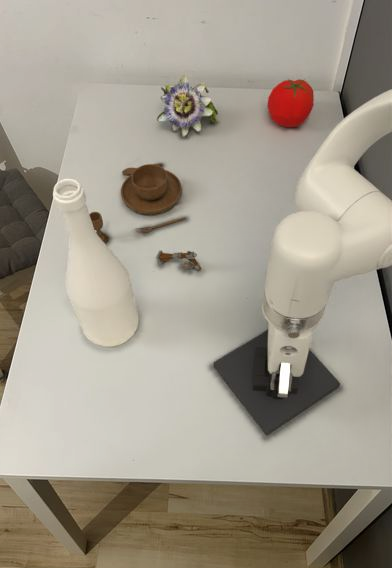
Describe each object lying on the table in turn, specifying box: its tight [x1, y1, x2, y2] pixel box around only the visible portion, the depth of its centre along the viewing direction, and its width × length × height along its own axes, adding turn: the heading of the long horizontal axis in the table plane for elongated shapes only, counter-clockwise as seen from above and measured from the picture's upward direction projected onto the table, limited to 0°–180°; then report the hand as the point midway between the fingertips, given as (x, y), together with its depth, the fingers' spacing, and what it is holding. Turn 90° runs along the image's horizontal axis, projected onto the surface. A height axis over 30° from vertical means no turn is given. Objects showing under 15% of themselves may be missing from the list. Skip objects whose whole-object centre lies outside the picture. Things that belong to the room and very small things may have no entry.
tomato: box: [266, 78, 315, 128], centre depth 106 cm, size 9×10×8 cm
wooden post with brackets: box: [155, 249, 202, 272], centre depth 89 cm, size 2×8×4 cm, turn 69°
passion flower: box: [156, 74, 219, 138], centre depth 107 cm, size 11×11×12 cm
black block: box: [253, 347, 298, 394], centre depth 77 cm, size 7×7×2 cm
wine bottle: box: [52, 178, 140, 348], centre depth 71 cm, size 10×10×30 cm
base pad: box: [213, 329, 341, 436], centre depth 77 cm, size 14×14×3 cm
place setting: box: [89, 162, 186, 244], centre depth 96 cm, size 18×20×6 cm
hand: (278, 366), depth 76 cm, fingers open, 9 cm apart
